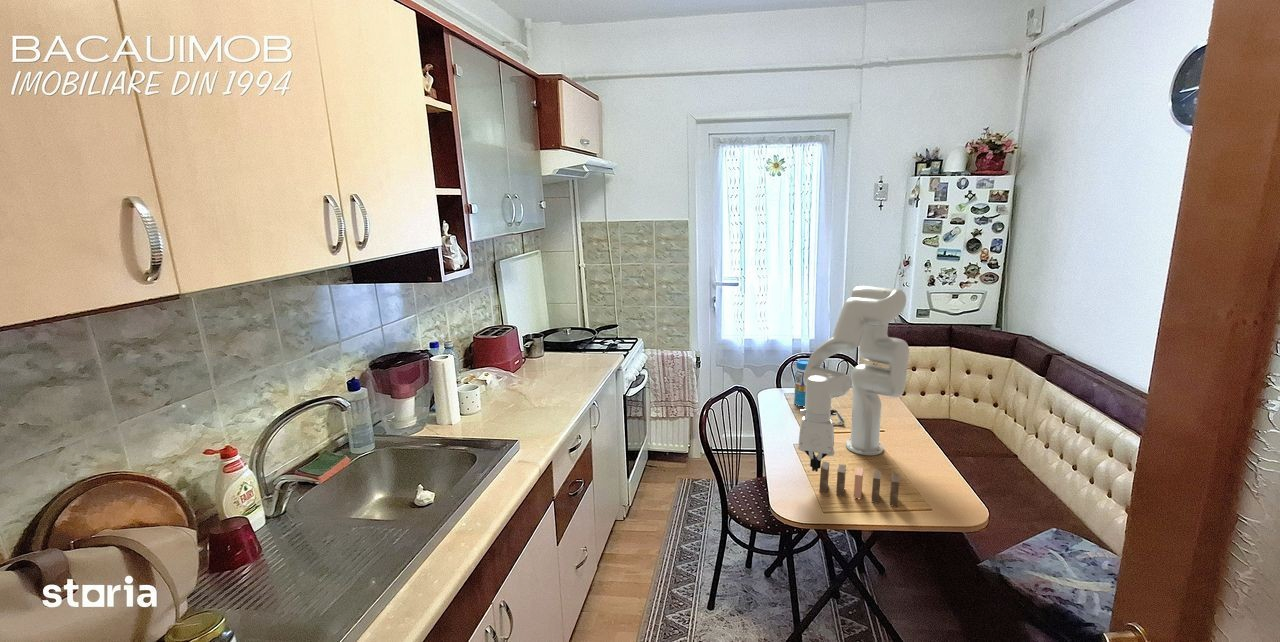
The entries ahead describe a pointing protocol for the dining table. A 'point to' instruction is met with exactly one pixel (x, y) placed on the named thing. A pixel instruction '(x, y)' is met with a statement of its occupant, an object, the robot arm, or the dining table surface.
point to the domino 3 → (858, 482)
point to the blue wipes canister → (800, 383)
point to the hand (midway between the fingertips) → (815, 469)
